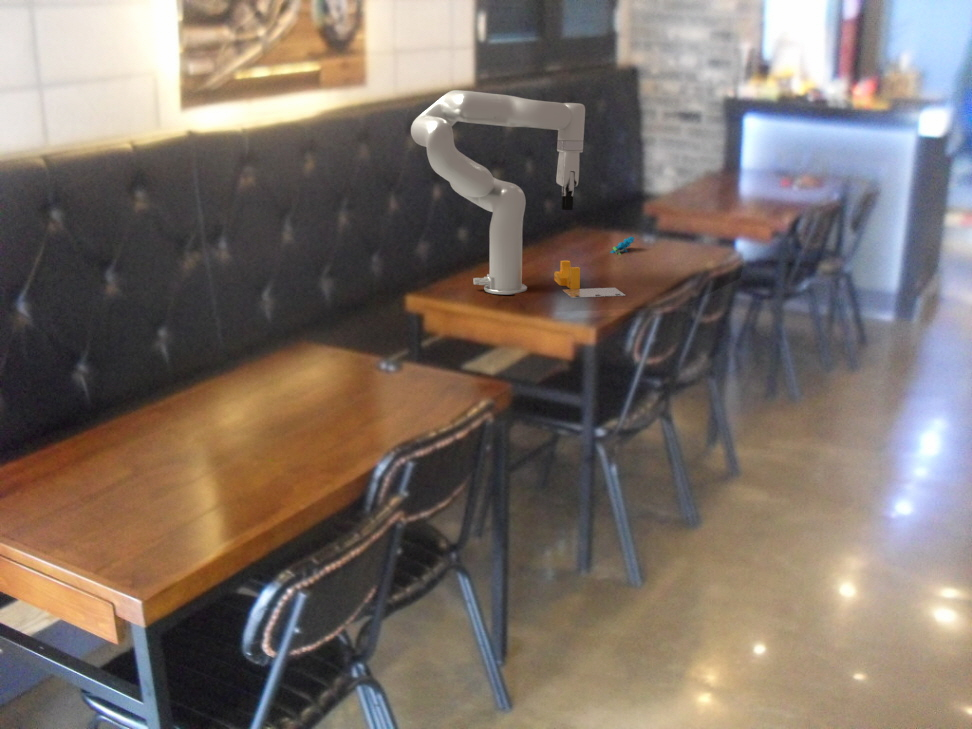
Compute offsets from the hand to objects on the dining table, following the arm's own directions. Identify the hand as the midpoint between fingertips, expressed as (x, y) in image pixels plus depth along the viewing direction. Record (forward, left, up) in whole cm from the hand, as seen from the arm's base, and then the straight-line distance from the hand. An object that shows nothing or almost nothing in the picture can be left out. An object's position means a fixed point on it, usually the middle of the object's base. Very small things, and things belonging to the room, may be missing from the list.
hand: (566, 209), depth 311 cm
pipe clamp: (0, -3, -23) cm, 23 cm away
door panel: (+5, -15, -22) cm, 27 cm away
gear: (+27, +37, -23) cm, 51 cm away
